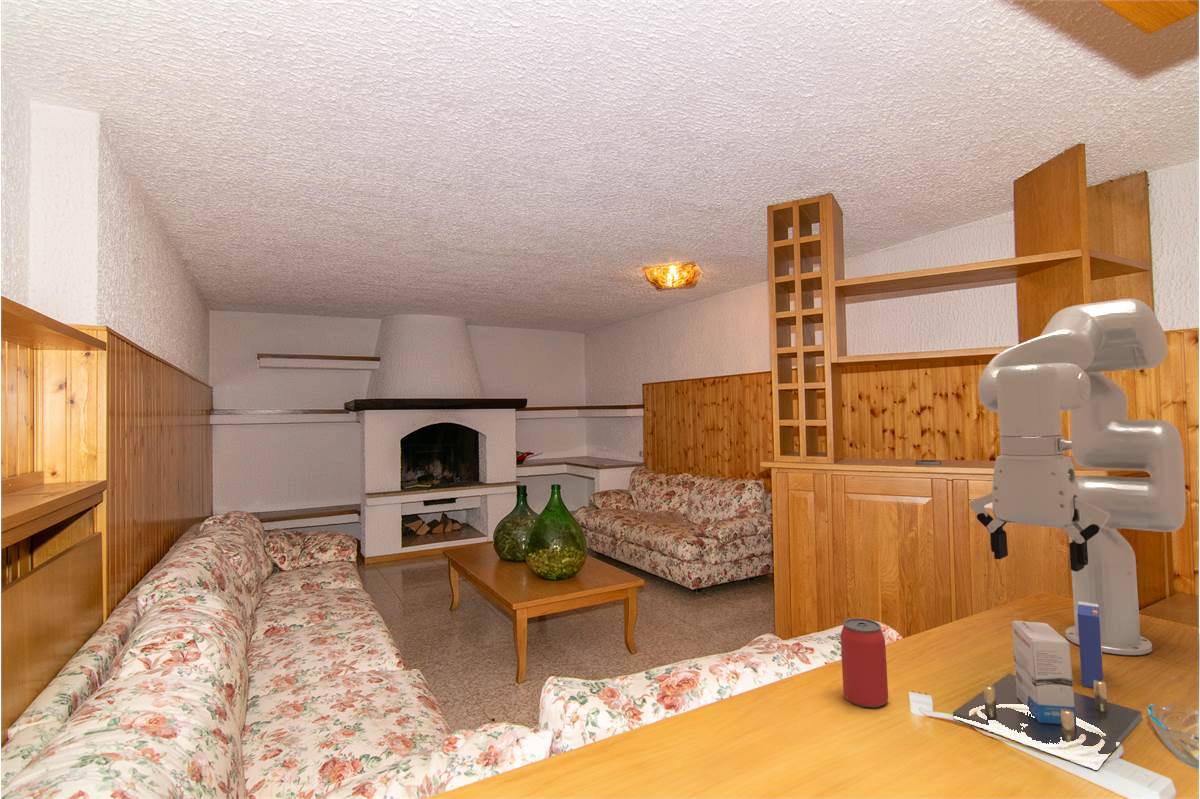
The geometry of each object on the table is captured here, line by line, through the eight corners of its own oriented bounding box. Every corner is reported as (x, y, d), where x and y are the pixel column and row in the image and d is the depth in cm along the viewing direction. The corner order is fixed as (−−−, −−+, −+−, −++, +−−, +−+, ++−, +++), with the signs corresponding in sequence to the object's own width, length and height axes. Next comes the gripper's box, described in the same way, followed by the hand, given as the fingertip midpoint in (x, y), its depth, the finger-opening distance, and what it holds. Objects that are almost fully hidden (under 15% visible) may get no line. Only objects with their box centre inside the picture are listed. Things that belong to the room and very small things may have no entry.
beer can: (888, 693, 98) (884, 619, 98) (888, 712, 92) (884, 633, 92) (844, 687, 101) (840, 615, 101) (842, 705, 95) (838, 628, 95)
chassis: (1009, 679, 101) (1007, 649, 101) (1142, 718, 87) (1139, 683, 87) (953, 718, 89) (951, 684, 89) (1096, 771, 76) (1094, 730, 76)
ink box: (1077, 727, 84) (1072, 642, 84) (1036, 723, 85) (1031, 639, 86) (1052, 698, 92) (1047, 621, 92) (1014, 695, 94) (1010, 619, 94)
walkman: (1104, 690, 96) (1099, 614, 96) (1081, 685, 98) (1077, 611, 98) (1103, 672, 102) (1098, 601, 102) (1082, 668, 104) (1078, 598, 104)
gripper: (1112, 447, 84) (1120, 569, 84) (978, 444, 98) (984, 549, 98) (1095, 451, 80) (1103, 580, 80) (956, 448, 94) (963, 558, 94)
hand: (1037, 563), depth 89 cm, fingers open, 9 cm apart
